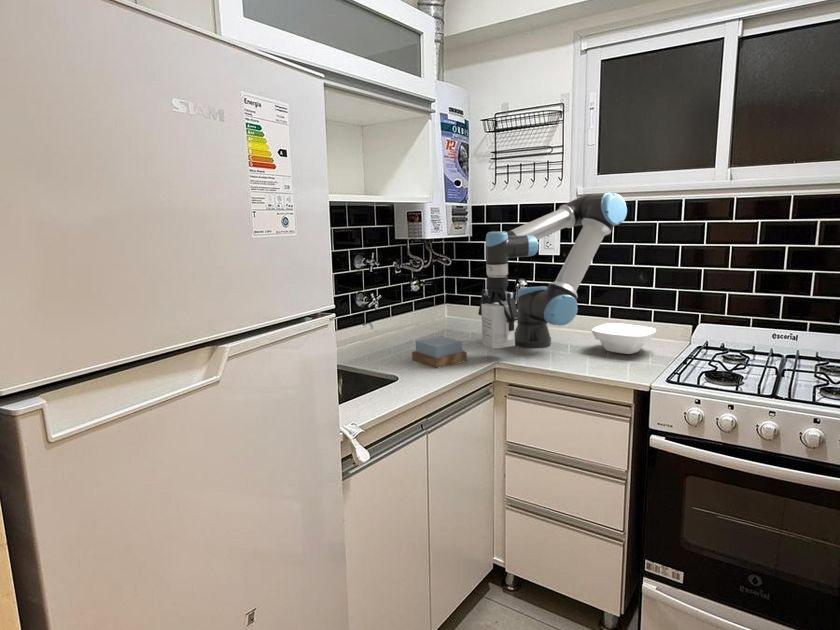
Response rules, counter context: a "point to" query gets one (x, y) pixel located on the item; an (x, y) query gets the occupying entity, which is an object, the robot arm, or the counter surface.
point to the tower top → (439, 346)
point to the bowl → (623, 337)
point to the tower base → (439, 359)
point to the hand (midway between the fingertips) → (498, 337)
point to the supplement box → (495, 326)
